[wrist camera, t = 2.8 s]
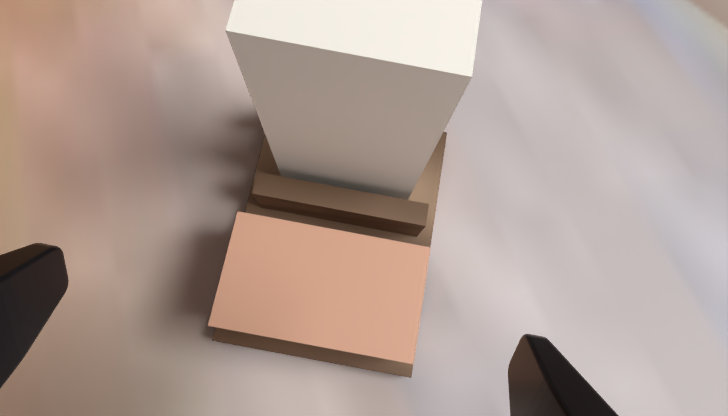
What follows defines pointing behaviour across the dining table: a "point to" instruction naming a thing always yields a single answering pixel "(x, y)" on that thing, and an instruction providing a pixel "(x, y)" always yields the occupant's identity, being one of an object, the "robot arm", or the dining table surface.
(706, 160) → the dining table surface
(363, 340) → the offcut top
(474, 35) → the tall white pillar
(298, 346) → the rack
